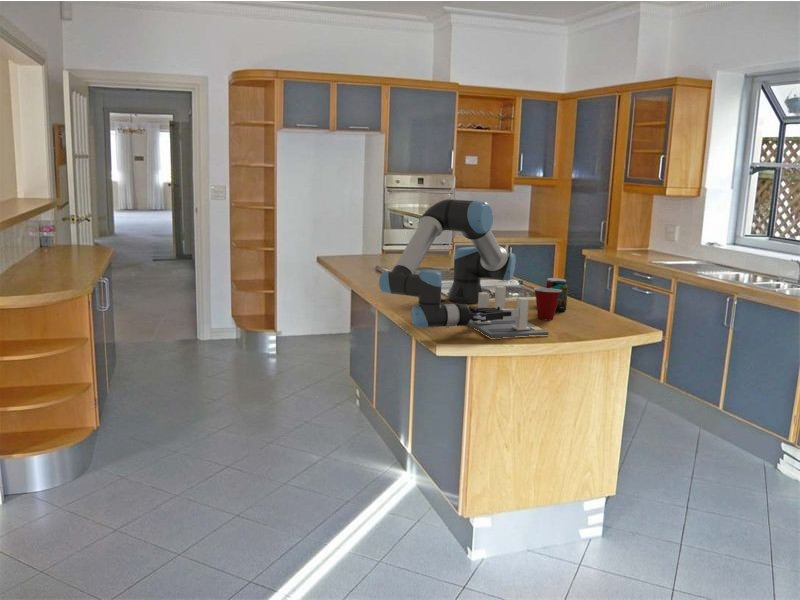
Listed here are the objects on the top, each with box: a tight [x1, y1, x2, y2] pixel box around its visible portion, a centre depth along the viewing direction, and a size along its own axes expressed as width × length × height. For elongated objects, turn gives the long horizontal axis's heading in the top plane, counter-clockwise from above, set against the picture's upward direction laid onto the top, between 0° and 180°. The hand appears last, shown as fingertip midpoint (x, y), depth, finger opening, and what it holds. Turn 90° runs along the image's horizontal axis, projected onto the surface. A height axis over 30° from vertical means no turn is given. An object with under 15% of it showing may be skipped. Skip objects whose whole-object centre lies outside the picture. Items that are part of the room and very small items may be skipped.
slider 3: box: [512, 296, 530, 330], centre depth 250 cm, size 4×5×11 cm
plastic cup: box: [533, 287, 562, 321], centre depth 275 cm, size 11×11×12 cm
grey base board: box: [466, 317, 549, 339], centre depth 261 cm, size 33×22×2 cm, turn 17°
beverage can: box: [550, 281, 569, 313], centre depth 290 cm, size 7×7×12 cm
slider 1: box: [474, 291, 491, 324], centre depth 257 cm, size 4×5×11 cm
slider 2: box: [493, 285, 507, 309], centre depth 271 cm, size 4×5×11 cm
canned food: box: [545, 277, 567, 288], centre depth 302 cm, size 8×8×11 cm
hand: (517, 312), depth 249 cm, fingers closed
